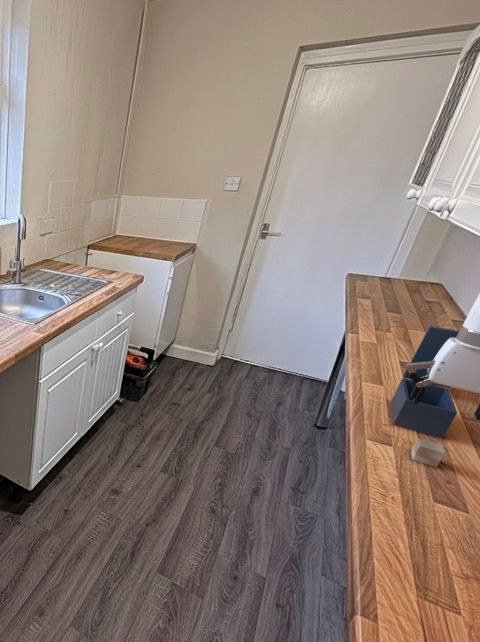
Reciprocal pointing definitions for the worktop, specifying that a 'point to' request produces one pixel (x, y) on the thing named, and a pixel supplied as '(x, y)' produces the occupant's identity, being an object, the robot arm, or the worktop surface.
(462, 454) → the worktop surface
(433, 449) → the block
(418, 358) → the lid
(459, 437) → the worktop surface
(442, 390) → the chest
